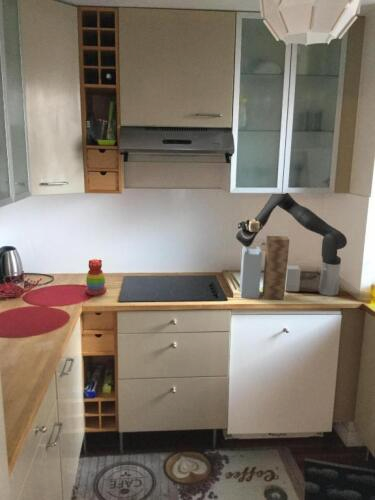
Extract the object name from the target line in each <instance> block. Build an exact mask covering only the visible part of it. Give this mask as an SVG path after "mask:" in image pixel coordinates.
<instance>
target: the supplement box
mask: <svg viewBox="0 0 375 500" xmlns="http://www.w3.org/2000/svg"><path fill="white" fill-rule="evenodd" d="M301 272H302V270H301V267H300V266H299V265H297V264H296V265H293V264H287V272H286V282H285V292H299V291H300V282H301V281H300V280H301V274H302V273H301Z"/></svg>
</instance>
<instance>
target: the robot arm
mask: <svg viewBox="0 0 375 500" xmlns="http://www.w3.org/2000/svg"><path fill="white" fill-rule="evenodd" d="M276 207H278V208H280V209H282V210H284V211H286V212H287V213H288V214H289V215H290V216H292V217H293V218H294V220H295V221H296V222H297V223H298V224H299V225H301V226H302V227H303V228H305V229H307V231H311V232H313V233H315V234H318V235H320V236H322V237H323V239H322V241H321V242H322V243H321V257H322V258H321V260H322V261H321V269H320V275H319V276H320V277H319V287H318V293H319V294H320V295H324V296H329V297H331V296H332V297H333V296H337V295H339V289H340V288H339V287H340V280H341V278H340V272H341V271H340V269H341V265H342V264H341V262H342V261H341V260H342V258H341V257H340V256H338V250H341V249H344V248H345V247H346V246H347V244H348V241H347V236H345V234H344V233H343V232H342V231H340V230H338V229H336V227H334V226H331V225H330V224H328V223H327V222H326V221H325V220H324V219H322V218H321V217H320V216H319V215H317V214H316V213H315V212H313V211H312V210H311V209H309V208H307V207H306V206H303V205H301V204H299V203H298V201H296V200H295V199H294V198H293V197H292V196H291V195H290V193H289V192H288V193H286V194H273V193H272V194H271V196H270V197H269V199H268V200H267V202H266V203H265V205H264V207H263V208H262V209H261V210H260V212H259V213H258V214H257V216H255V218H254V219H255V221H259V223H260V225H259V232H260V231H261V230H263V228H264V227H265V225H266V224H267V223H268V221H269V218H270V217H271V214H272V213H273V211H274V210H275V208H276ZM249 219H250V218H248V219H247V220H246V221H241V222H239V223H238V224H237V229H238V230H239V229H241V230H239V231H238V232H237V233H236V234H235V235H236V236H235V238H236V240H237V241H238V242H239V243H240V244H242V246H245V247H246V248H248V247H250V246H252V245H253V243H254V241H255V239H256V237H257V235H258V234H259V232H250V231H249V226H248V225H249V221H250V220H249Z"/></svg>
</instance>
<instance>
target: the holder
mask: <svg viewBox="0 0 375 500" xmlns="http://www.w3.org/2000/svg"><path fill="white" fill-rule="evenodd" d="M262 260H263V253H262V250H261V248H260V246H256V248H247V247H245V246H244V245H242V248H241V261H240V262H241V264H240V275H239V276H240V277H239V293H240V292H241V294H240V297H241V298H243V299H244V298H245V299H259V298H260V287H261V286H260V285H261V275H262V274H261V273H262V263H263V262H262Z"/></svg>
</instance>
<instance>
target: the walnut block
mask: <svg viewBox="0 0 375 500" xmlns="http://www.w3.org/2000/svg"><path fill="white" fill-rule="evenodd" d="M265 242H266V244H265V255H264V256H265V257H264V267H263V268H264V269H263V281H262V292H261V293H262V294H263V295H262V294H261V295H262V298H263V300H265V301H285V292H286V291H285V282H286V272H287V265H288V259H289V250H290V238H288V236H284V235H283V236H282V235H279V236H278V235H266V241H265Z"/></svg>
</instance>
